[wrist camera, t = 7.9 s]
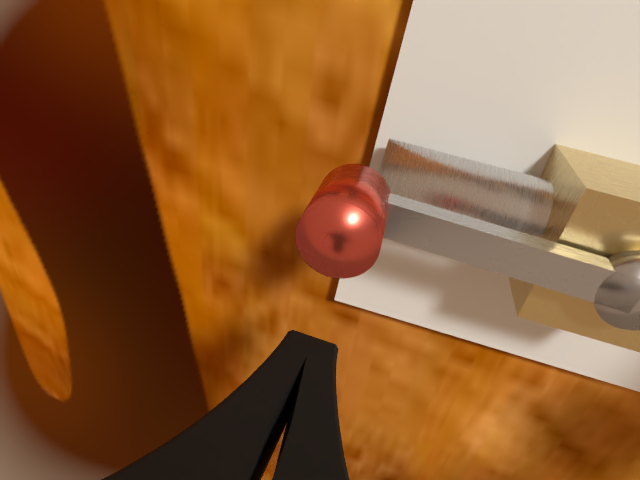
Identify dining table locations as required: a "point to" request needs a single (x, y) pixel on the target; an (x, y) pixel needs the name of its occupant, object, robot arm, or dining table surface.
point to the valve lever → (455, 244)
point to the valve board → (505, 150)
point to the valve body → (535, 215)
